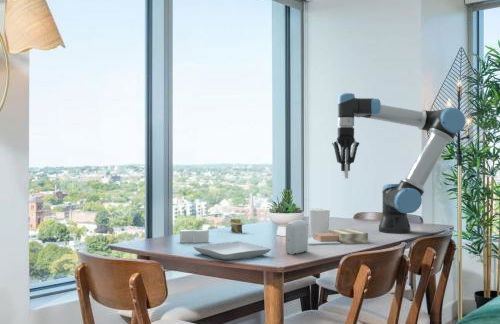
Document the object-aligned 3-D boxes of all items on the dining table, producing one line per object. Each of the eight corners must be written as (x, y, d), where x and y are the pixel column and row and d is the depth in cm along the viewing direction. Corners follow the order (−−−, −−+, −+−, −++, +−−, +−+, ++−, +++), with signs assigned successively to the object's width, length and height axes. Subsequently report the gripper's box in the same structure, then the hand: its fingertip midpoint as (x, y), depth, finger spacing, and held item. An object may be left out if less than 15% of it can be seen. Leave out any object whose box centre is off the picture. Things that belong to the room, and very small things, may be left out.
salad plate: (224, 263, 192) (224, 253, 192) (192, 254, 209) (192, 245, 209) (272, 257, 205) (272, 247, 205) (238, 249, 222) (238, 240, 222)
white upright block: (293, 255, 208) (293, 221, 208) (283, 253, 211) (284, 220, 211) (309, 251, 216) (309, 219, 216) (299, 250, 219) (300, 218, 219)
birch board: (353, 238, 253) (353, 229, 253) (367, 242, 240) (367, 233, 240) (328, 238, 250) (328, 229, 250) (341, 243, 237) (341, 234, 237)
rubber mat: (325, 238, 251) (325, 237, 251) (340, 244, 236) (340, 242, 236) (295, 239, 247) (295, 238, 247) (308, 245, 232) (308, 243, 232)
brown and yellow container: (237, 236, 260) (237, 221, 260) (213, 231, 274) (213, 218, 274) (257, 233, 268) (257, 220, 268) (233, 230, 282) (233, 216, 282)
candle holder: (329, 237, 255) (329, 210, 255) (307, 236, 257) (307, 210, 257) (330, 234, 265) (330, 208, 265) (309, 233, 267) (309, 208, 267)
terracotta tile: (330, 238, 248) (330, 232, 248) (338, 241, 240) (338, 235, 240) (313, 239, 245) (313, 233, 245) (320, 241, 238) (320, 235, 238)
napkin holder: (214, 241, 242) (214, 228, 242) (204, 245, 231) (205, 231, 231) (181, 240, 246) (182, 226, 246) (171, 243, 235) (171, 230, 235)
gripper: (336, 126, 256) (335, 178, 257) (362, 127, 260) (362, 178, 260) (329, 127, 264) (329, 178, 264) (355, 127, 267) (354, 177, 267)
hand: (345, 178), depth 262 cm, fingers closed
